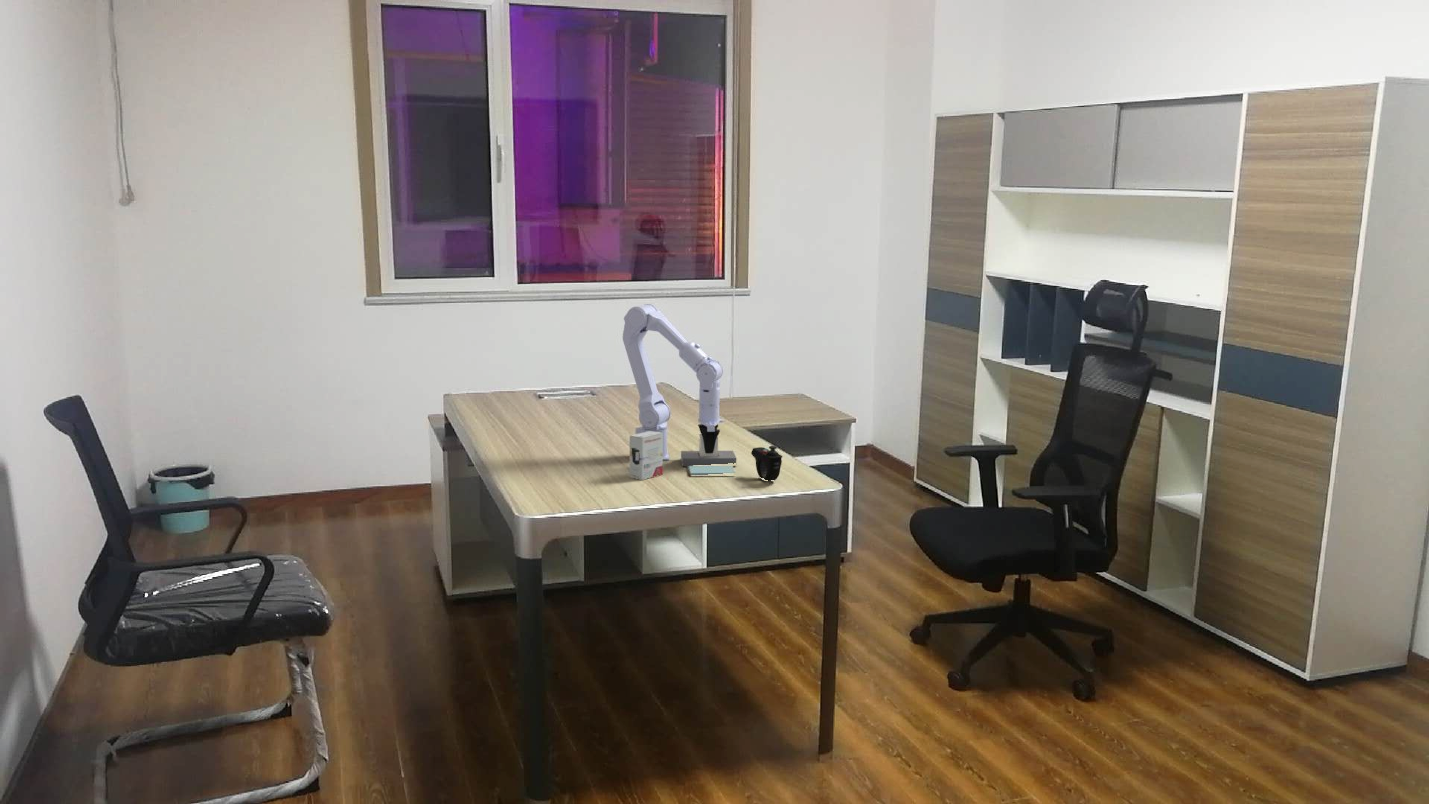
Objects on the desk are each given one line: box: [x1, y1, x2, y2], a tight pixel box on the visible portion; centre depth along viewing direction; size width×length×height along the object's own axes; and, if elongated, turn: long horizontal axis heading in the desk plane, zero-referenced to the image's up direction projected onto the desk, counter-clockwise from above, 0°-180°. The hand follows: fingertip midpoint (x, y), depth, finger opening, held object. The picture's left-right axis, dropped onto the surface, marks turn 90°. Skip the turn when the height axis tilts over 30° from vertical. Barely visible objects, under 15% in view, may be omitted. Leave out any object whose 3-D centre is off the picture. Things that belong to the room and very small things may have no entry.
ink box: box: [629, 431, 664, 481], centre depth 295 cm, size 9×5×12 cm, turn 141°
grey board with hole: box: [680, 450, 737, 467], centre depth 311 cm, size 15×9×2 cm, turn 95°
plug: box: [698, 433, 719, 457], centre depth 311 cm, size 5×4×8 cm
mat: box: [688, 466, 736, 475], centre depth 300 cm, size 12×8×1 cm, turn 95°
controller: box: [750, 445, 783, 482], centre depth 293 cm, size 4×12×10 cm, turn 24°
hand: (708, 451), depth 311 cm, fingers closed on plug, 4 cm apart
